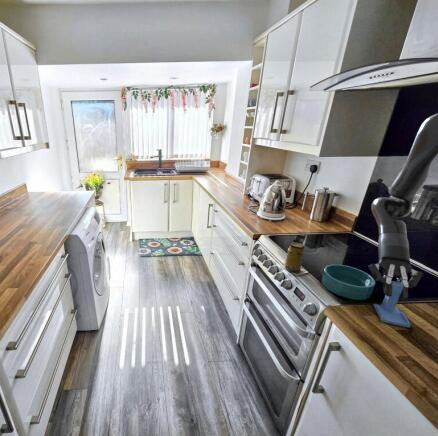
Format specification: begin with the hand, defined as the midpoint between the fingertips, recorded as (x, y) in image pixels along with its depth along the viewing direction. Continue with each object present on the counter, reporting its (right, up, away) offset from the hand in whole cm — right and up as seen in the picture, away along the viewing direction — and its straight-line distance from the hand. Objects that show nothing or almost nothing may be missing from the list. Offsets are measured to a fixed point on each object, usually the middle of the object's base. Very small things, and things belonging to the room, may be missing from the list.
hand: (396, 297), depth 78 cm
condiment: (-16, +3, +29) cm, 33 cm away
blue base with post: (0, -7, +2) cm, 7 cm away
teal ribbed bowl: (-4, -2, +16) cm, 16 cm away
